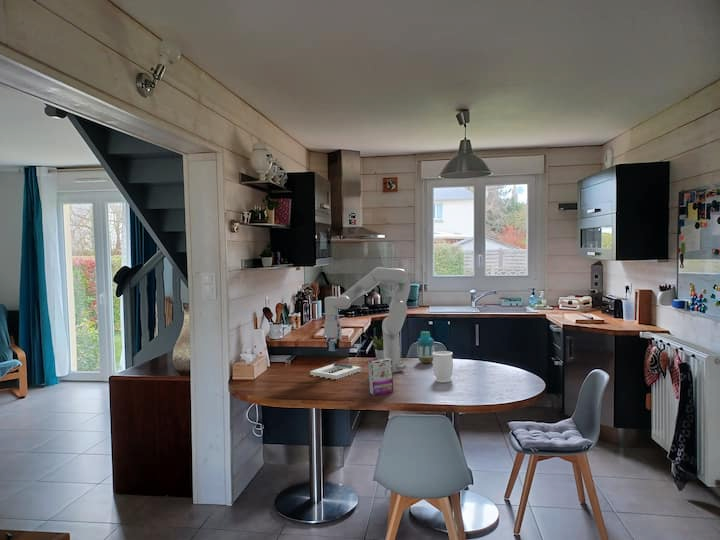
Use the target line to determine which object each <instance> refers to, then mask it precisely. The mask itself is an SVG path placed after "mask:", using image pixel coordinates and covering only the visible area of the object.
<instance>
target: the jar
mask: <svg viewBox="0 0 720 540" xmlns="http://www.w3.org/2000/svg"><path fill="white" fill-rule="evenodd" d="M432 355H433V356H434V357H433V361H432V369H433V372H434V376H435V379H434V380H435V382H436V383H442V384H443V383H445V384H446V383H450V382H452V375H453V370H454V361H453V352H452V351H449V350H448V351H446V350H439V351H435V352H433V353H432Z"/></svg>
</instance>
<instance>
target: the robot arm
mask: <svg viewBox="0 0 720 540" xmlns="http://www.w3.org/2000/svg"><path fill="white" fill-rule="evenodd" d="M381 283H383V284H395V288H394V289H395V290H394V293H393V295H392V298H391V300H390V303H389V306H388V309H389V313H388V315H387V316H386V317H385V318H384V319H383V320H382V322H381V324H382V325H381V329H382V338H383V339H382V342H383V345H384V359H385V358H389V359H391V360H392V373H399V372H403V371H404V370H405V369H406V365H405V364H403V362H401V347H400V346H401V345H400V343H401V340H400V332H401V330H402V328H403V325H404V322H405V320H406V316H407V314H408V305H407V301H408V298H409V296H410V292H411V282H410V279H409V276H408V272H407V271H406V270H404V269H402V268H392V267H391V268H390V267H388V268H387V267H382V266H377V267H375V268H374V269H372V270H371V271H370V272H369V273H367V274H366V275H364V276H363V277H362V278H361V279H359V281H356V282H355V284H354V285H352V286H351V287H349V288H348V289H347V290H346V291H344V292H343V293H342V294H341V295H339V296H326V297H325V298H324V318H325V320H324V326H323V334H322V337H323V338H324V340H325V342H326V349H327V350H329V341H330V340H332V339H333V340H335V350H337V351H339V350H340V343H341V340H343V338H344V337H343V335H342V325H341V321H340V316H339V310H347V309H349V308H350V307H351V305H352V303H353V302H354V301H356V300H357V299H359V298H360V297H362V296H364V295H366V294H368V293H369V292H370V291H372V290H373V289H374V288H375V287H377V286H378V285H379V284H381Z"/></svg>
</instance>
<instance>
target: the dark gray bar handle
mask: <svg viewBox="0 0 720 540" xmlns="http://www.w3.org/2000/svg"><path fill="white" fill-rule="evenodd" d="M332 364H333V365H334V366H343V367H349V368H353V366H354V365H353V364H344V363H338V362H333V363H332Z"/></svg>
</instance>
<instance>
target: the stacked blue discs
mask: <svg viewBox="0 0 720 540" xmlns="http://www.w3.org/2000/svg"><path fill="white" fill-rule="evenodd" d="M328 351H329V352H336V351H338V350H335V340H334V339H331V340H330V341H329V349H328Z"/></svg>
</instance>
